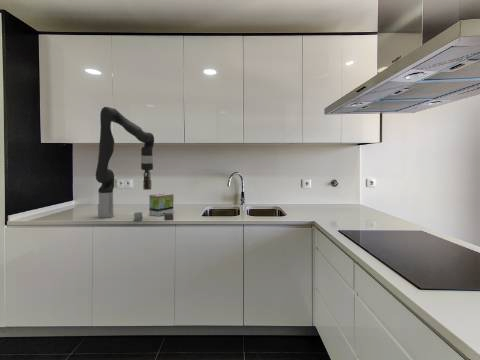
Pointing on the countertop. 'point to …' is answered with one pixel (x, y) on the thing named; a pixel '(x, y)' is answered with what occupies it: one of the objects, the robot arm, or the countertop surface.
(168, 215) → the charcoal block
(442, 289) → the countertop surface
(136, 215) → the grey egg shape
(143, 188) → the walnut block
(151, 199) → the tea box
